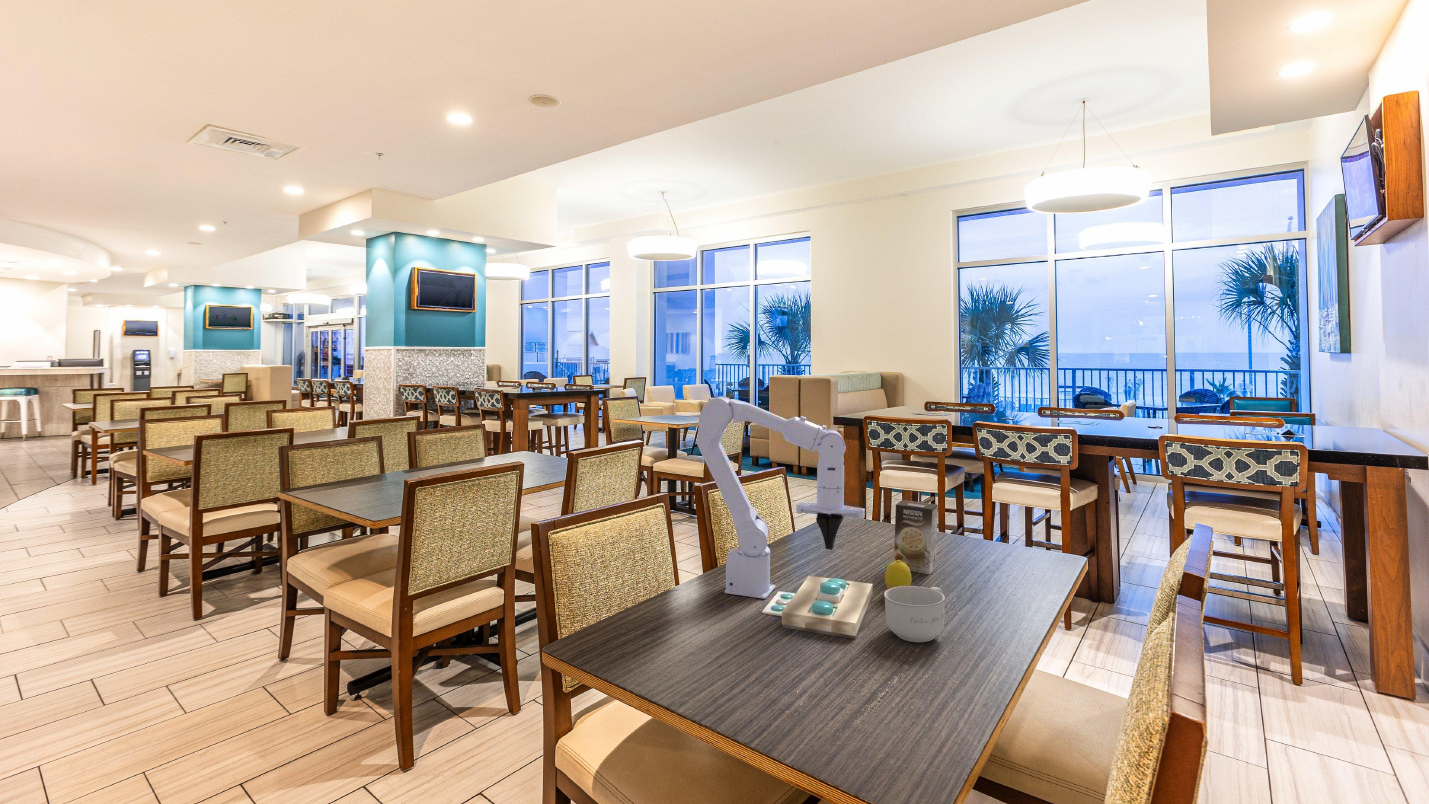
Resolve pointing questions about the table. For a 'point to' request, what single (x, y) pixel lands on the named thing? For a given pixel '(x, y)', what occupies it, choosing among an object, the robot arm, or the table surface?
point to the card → (778, 603)
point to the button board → (847, 610)
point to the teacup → (915, 612)
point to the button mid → (830, 592)
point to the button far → (840, 582)
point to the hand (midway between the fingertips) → (829, 548)
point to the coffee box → (916, 535)
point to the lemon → (897, 575)
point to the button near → (823, 608)
